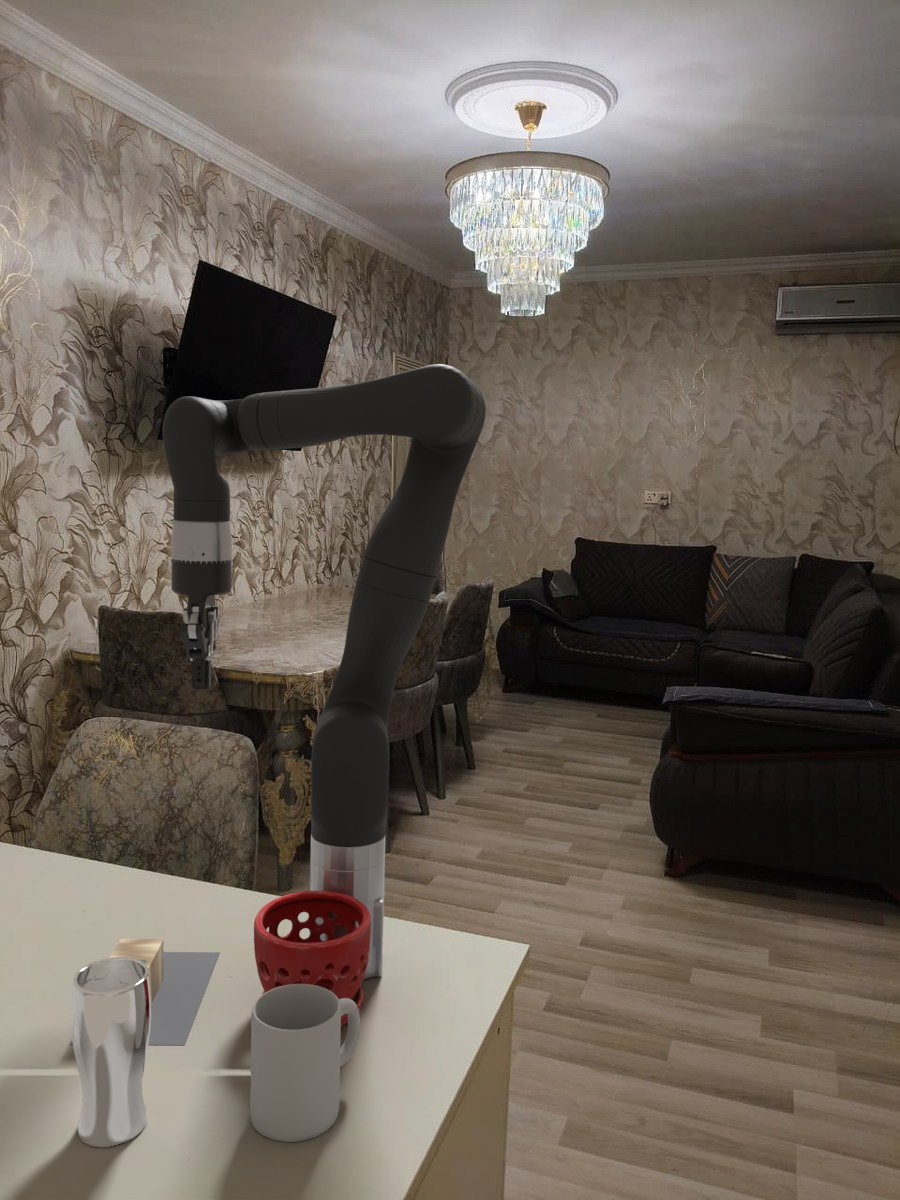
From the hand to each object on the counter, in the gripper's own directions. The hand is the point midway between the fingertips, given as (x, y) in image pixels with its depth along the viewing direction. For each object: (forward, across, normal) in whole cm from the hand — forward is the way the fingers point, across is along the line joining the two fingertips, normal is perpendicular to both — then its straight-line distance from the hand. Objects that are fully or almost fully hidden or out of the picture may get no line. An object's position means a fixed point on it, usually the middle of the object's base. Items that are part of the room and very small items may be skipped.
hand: (201, 688), depth 124 cm
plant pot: (+33, -21, -17) cm, 43 cm away
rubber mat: (+33, -18, +2) cm, 38 cm away
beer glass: (+33, -40, 0) cm, 52 cm away
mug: (+33, -37, -18) cm, 53 cm away
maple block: (+30, -14, +4) cm, 33 cm away
